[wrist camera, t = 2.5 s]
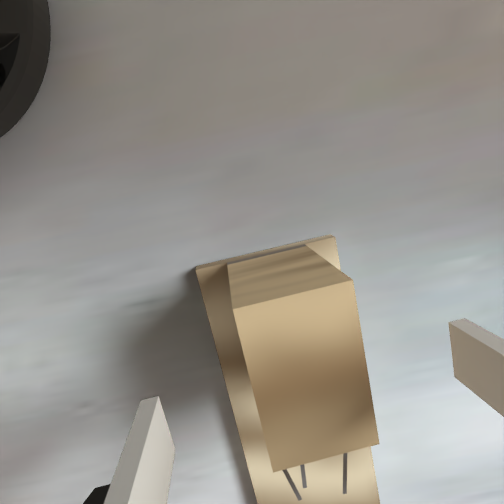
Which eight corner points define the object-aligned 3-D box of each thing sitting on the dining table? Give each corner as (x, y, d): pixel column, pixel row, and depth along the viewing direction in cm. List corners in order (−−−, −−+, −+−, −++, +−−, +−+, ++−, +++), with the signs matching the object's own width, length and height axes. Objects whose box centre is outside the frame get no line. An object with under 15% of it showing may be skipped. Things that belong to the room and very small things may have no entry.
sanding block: (226, 262, 22) (232, 309, 14) (304, 244, 22) (352, 280, 14) (254, 375, 23) (272, 472, 16) (325, 356, 24) (379, 443, 16)
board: (196, 266, 23) (195, 270, 22) (330, 234, 23) (335, 236, 22) (276, 568, 28) (278, 582, 27) (382, 538, 29) (388, 551, 28)
